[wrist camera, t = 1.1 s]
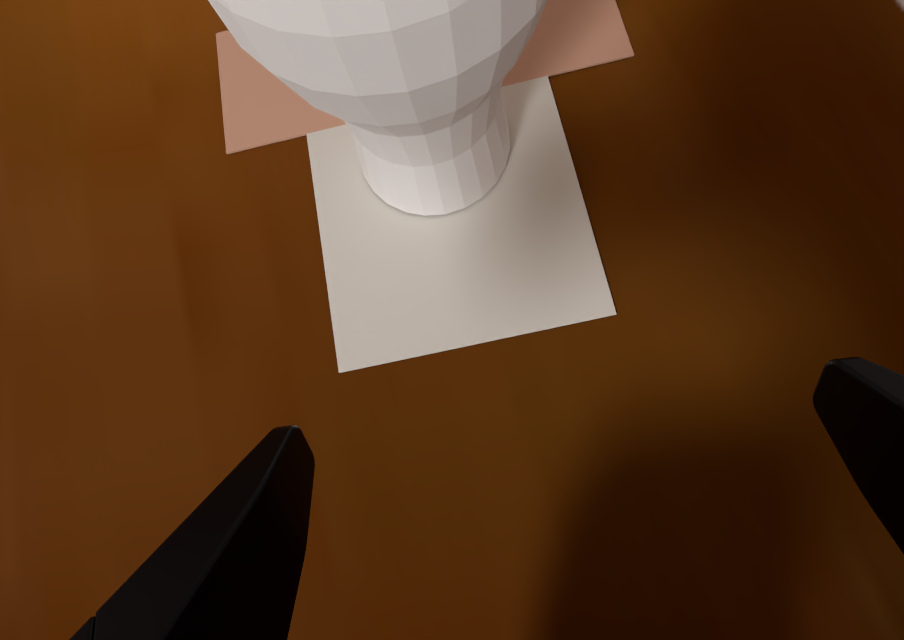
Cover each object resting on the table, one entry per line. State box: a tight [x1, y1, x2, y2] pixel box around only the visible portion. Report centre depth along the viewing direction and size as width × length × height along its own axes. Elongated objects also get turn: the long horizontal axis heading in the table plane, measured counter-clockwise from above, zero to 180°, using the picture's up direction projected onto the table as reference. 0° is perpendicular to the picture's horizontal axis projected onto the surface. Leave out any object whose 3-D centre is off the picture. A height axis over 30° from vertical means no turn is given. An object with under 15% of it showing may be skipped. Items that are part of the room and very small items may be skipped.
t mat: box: [216, 0, 634, 373], centre depth 24 cm, size 21×22×1 cm
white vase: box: [208, 0, 547, 216], centre depth 17 cm, size 11×11×15 cm
